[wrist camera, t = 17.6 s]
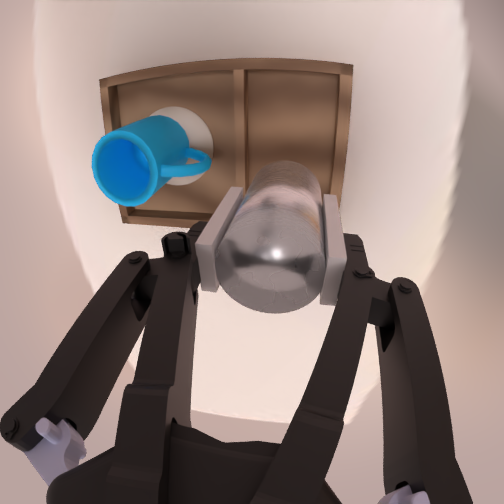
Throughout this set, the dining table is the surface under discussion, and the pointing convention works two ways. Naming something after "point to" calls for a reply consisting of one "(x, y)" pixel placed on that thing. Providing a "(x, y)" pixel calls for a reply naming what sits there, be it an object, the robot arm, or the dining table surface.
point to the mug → (144, 159)
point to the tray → (236, 125)
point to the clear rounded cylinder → (275, 242)
